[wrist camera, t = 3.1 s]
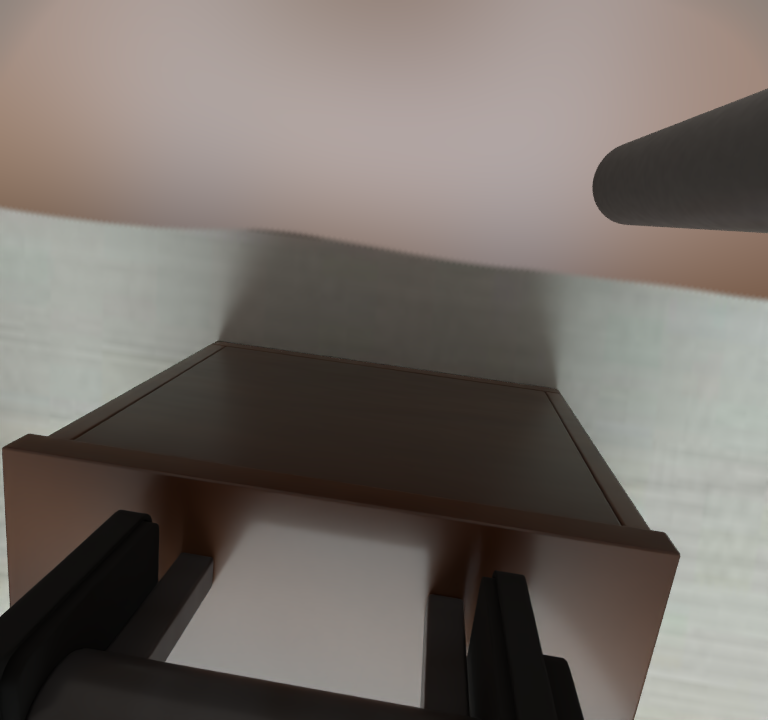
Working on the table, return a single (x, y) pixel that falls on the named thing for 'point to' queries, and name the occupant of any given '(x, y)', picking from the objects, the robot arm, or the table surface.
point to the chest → (368, 429)
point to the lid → (320, 591)
